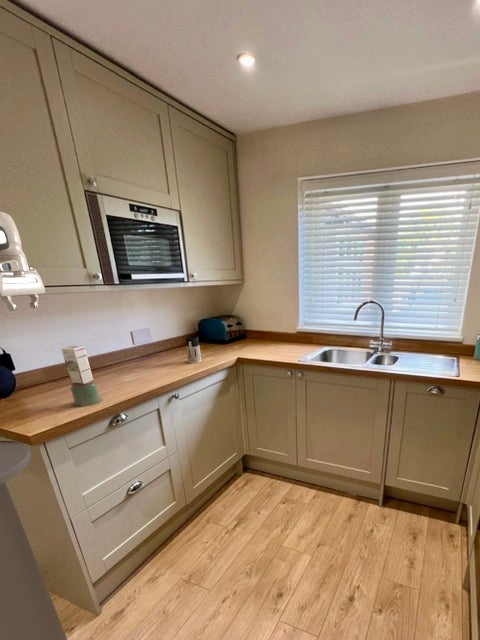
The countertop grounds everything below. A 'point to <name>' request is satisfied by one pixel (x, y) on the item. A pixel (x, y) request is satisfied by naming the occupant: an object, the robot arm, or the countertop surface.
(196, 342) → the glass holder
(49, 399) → the countertop surface
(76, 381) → the syrup box
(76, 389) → the green lidded jar
